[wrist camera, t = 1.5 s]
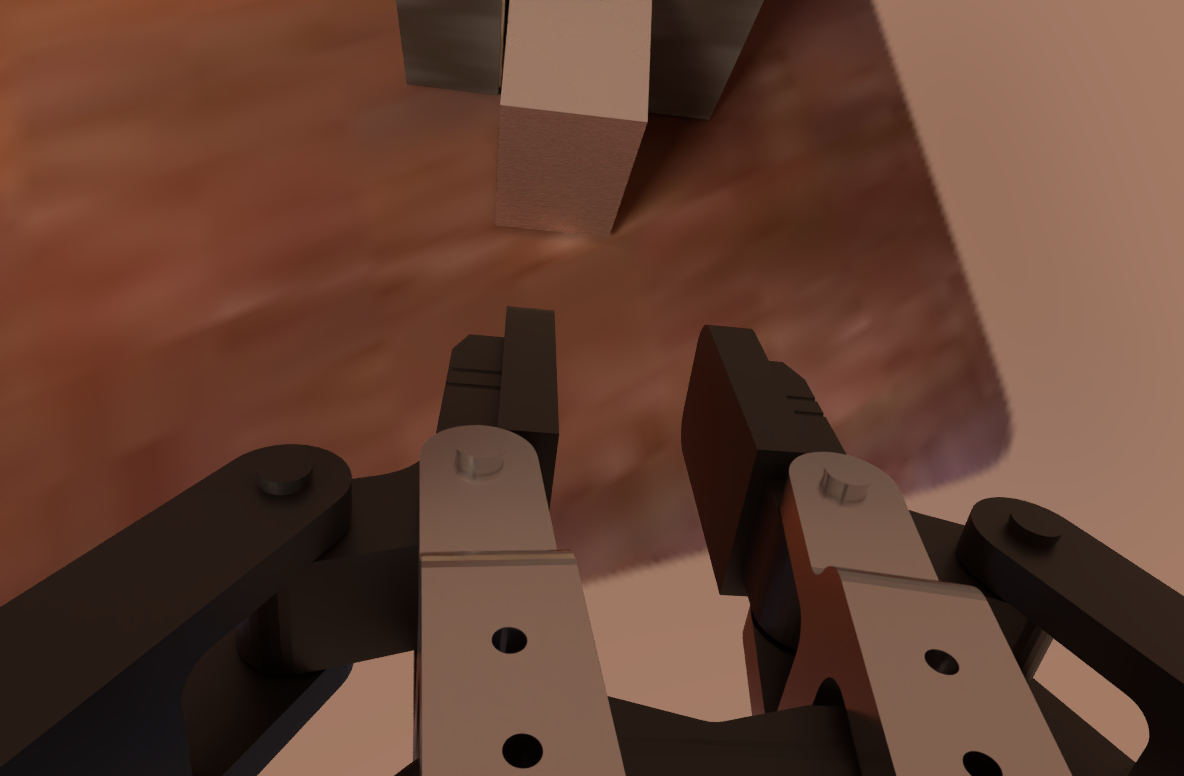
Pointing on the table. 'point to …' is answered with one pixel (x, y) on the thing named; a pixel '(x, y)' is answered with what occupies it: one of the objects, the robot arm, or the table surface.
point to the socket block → (677, 48)
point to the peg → (571, 112)
